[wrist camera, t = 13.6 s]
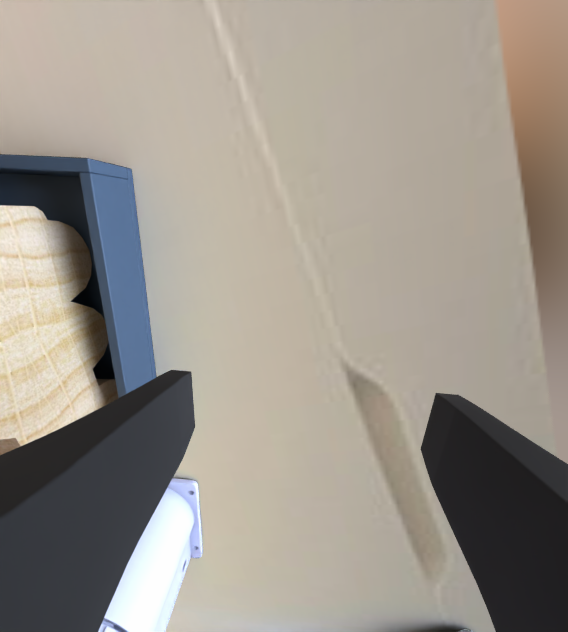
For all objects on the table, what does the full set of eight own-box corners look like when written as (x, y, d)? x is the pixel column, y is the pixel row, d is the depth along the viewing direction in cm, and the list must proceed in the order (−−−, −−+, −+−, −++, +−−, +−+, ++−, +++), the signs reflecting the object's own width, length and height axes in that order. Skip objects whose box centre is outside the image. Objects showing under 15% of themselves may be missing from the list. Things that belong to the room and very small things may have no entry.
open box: (164, 441, 23) (140, 479, 20) (39, 428, 24) (-5, 463, 21) (131, 168, 16) (87, 157, 13) (-43, 160, 17) (-126, 148, 14)
